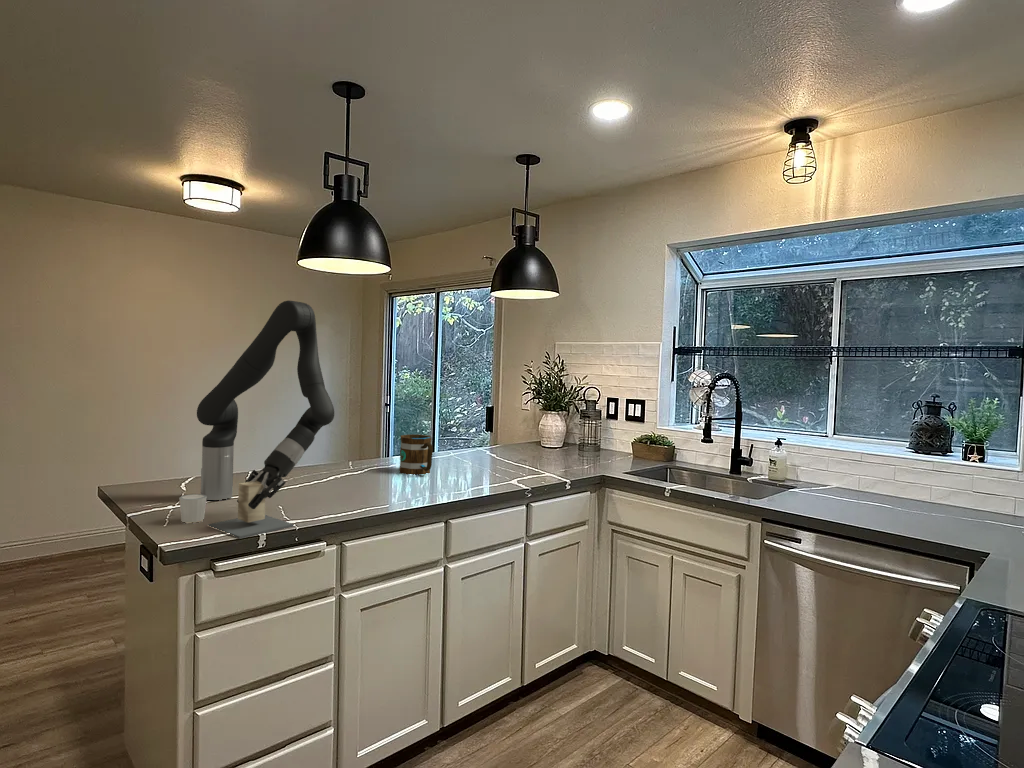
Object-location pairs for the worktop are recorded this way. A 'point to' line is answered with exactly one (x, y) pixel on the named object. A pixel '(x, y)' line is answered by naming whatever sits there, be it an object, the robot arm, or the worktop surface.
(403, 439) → the mug
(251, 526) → the slate mat
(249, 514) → the birch block
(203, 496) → the white tapered cup
